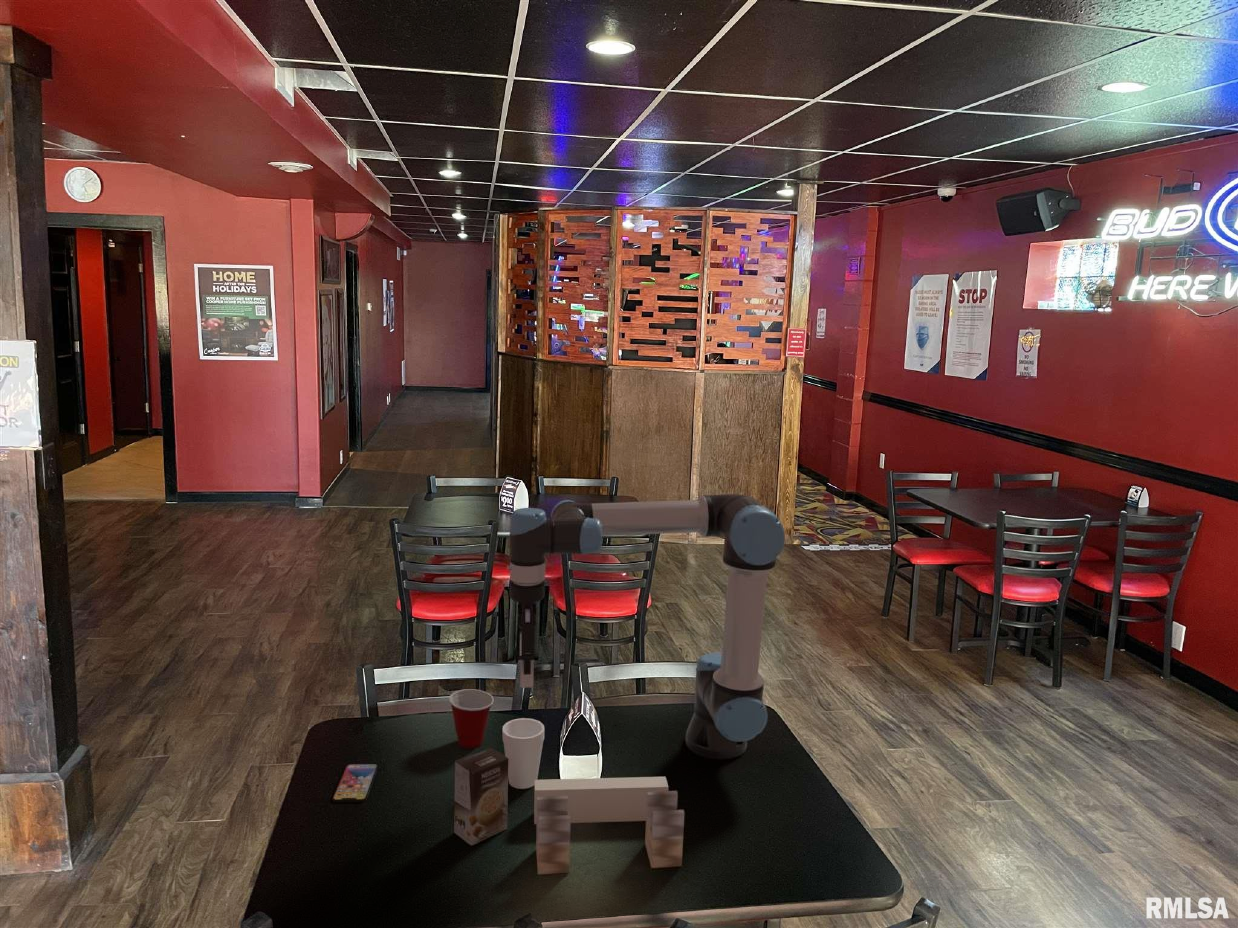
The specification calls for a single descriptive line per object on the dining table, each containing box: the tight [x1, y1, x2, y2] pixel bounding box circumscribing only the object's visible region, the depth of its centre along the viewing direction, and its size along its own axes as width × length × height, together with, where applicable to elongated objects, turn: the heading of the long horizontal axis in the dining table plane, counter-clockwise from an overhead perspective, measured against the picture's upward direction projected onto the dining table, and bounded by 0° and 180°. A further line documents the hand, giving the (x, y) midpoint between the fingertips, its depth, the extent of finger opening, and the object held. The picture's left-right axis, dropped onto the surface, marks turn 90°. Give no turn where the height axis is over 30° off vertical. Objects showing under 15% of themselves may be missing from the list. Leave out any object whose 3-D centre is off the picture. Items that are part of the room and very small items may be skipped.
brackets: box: [535, 790, 685, 875], centre depth 174 cm, size 28×8×12 cm, turn 98°
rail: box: [533, 776, 669, 825], centre depth 188 cm, size 28×4×8 cm, turn 96°
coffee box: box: [453, 747, 509, 846], centre depth 181 cm, size 9×6×16 cm
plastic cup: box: [448, 688, 495, 750], centre depth 216 cm, size 11×11×12 cm
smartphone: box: [331, 763, 379, 804], centre depth 199 cm, size 7×1×15 cm
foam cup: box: [502, 717, 545, 790], centre depth 200 cm, size 10×9×13 cm
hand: (526, 672), depth 195 cm, fingers open, 13 cm apart
